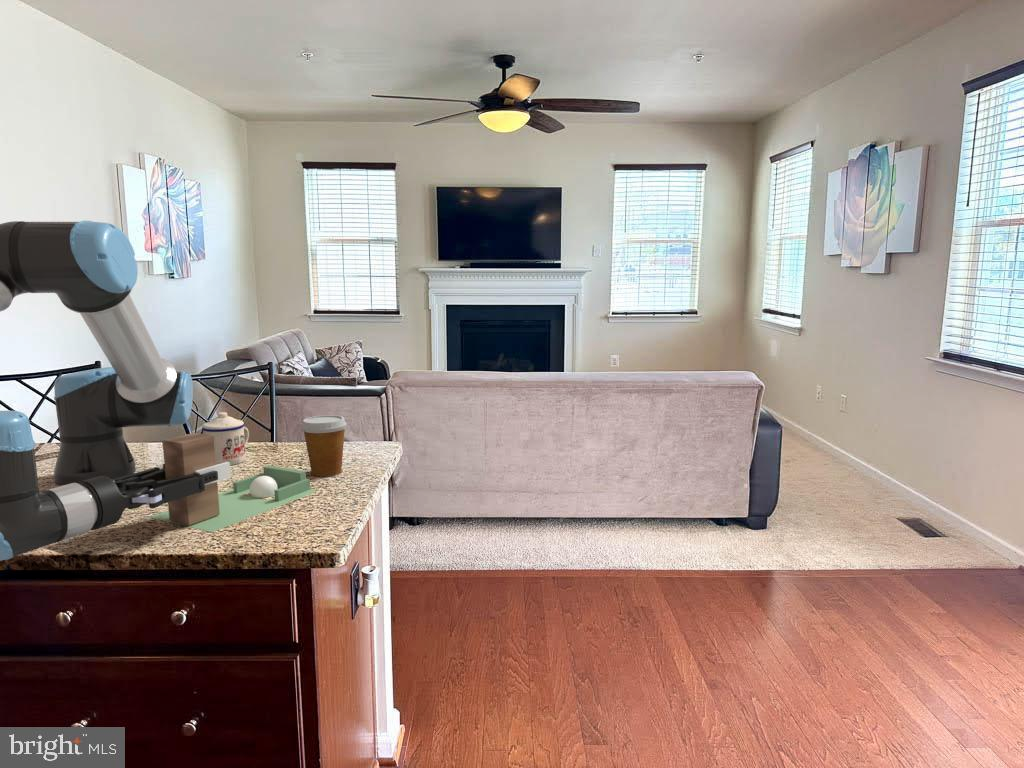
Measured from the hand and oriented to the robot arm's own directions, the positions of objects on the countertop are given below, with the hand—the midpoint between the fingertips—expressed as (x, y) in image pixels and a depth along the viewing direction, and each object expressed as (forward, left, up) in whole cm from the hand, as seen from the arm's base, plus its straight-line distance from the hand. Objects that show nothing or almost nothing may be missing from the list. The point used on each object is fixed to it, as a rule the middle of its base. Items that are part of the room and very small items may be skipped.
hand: (217, 467), depth 120 cm
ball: (0, +10, -7) cm, 12 cm away
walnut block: (0, -5, -7) cm, 9 cm away
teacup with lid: (-31, +28, -9) cm, 43 cm away
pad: (0, +4, -9) cm, 10 cm away
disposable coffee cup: (-3, +30, -9) cm, 31 cm away
